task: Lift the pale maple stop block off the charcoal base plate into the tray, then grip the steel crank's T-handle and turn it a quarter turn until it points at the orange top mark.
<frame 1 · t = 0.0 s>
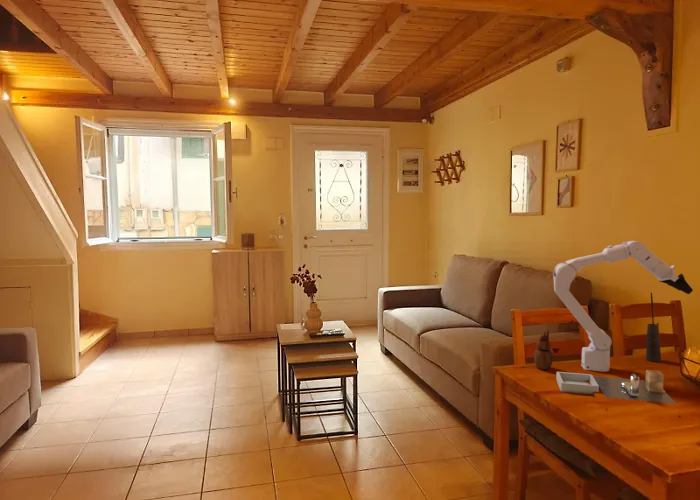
hand: (686, 290, 170), 32 cm above the table, tool tilted 50°, fingers open, 7 cm apart
crank: (630, 380, 157), point 5 cm above the table, hinge at -90.0°
tray: (576, 387, 165), on the table
wooden figurine: (543, 368, 185), on the table
base plate: (631, 391, 160), on the table
butter churn: (655, 360, 193), on the table
stop block: (653, 389, 159), point 1 cm above the table, touching base plate
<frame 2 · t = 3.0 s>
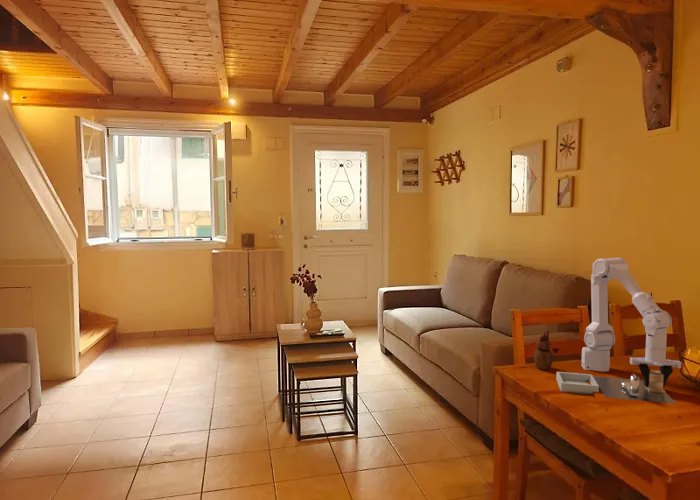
hand: (653, 386, 159), 2 cm above the table, tool pointing down, fingers closed on stop block, 4 cm apart
stop block: (653, 389, 159), point 1 cm above the table, touching base plate, gripper
everything else where it was.
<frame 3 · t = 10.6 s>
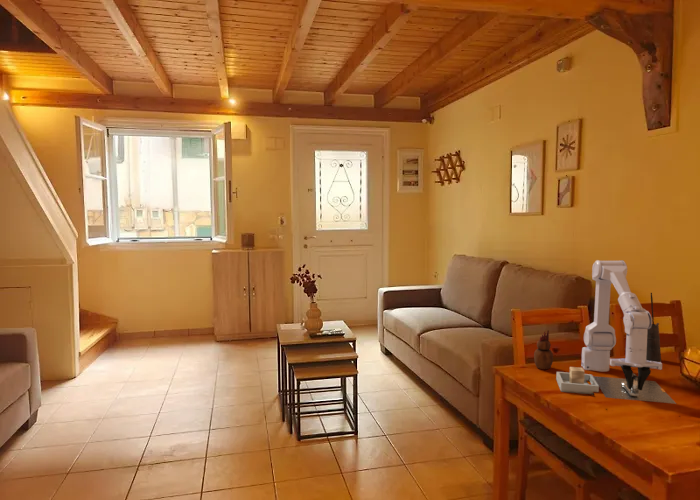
hand: (634, 388, 153), 4 cm above the table, tool pointing down, fingers closed on crank, 2 cm apart
crank: (630, 380, 157), point 5 cm above the table, hinge at -90.0°, touching gripper
stop block: (576, 385, 165), resting on tray
everything else where it was.
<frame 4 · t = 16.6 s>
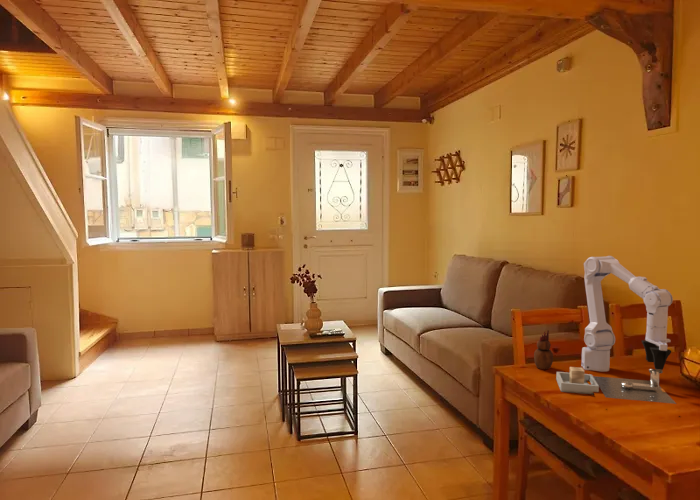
hand: (654, 365, 158), 9 cm above the table, tool pointing down, fingers open, 7 cm apart
crank: (640, 377, 160), point 5 cm above the table, hinge at -2.5°
everything else where it was.
at the end: stop block 0.2 cm off-centre on the tray, point 0.5 cm above the tray's base; crank at -2° (first picture: -90°); the gripper is holding nothing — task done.
